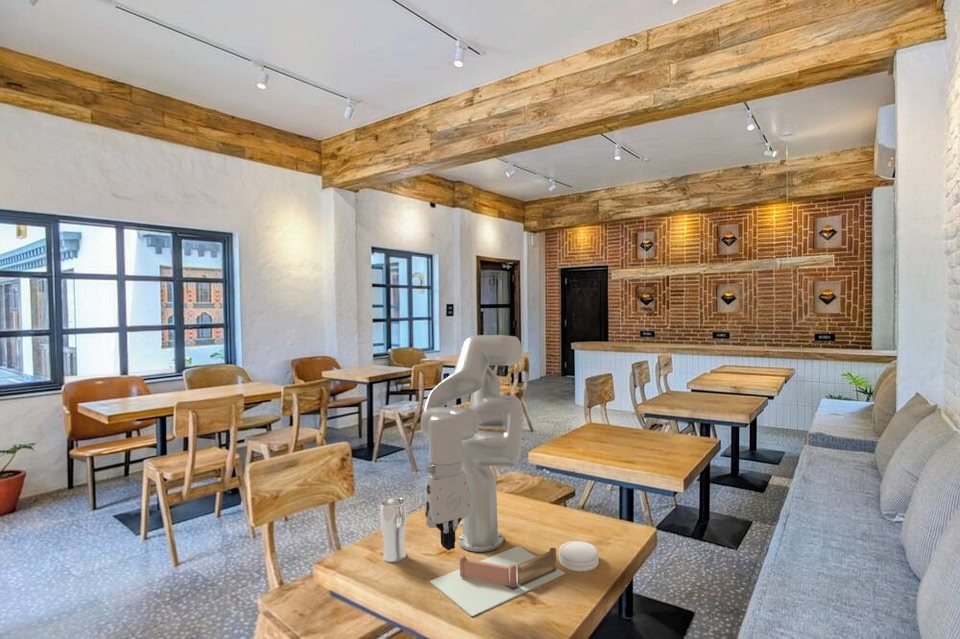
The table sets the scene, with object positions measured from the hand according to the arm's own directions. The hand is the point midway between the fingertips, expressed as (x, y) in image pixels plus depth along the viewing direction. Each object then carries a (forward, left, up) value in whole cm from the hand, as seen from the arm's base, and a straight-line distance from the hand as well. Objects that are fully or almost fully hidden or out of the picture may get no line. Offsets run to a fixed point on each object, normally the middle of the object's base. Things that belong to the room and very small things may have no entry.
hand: (448, 547), depth 120 cm
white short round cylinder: (+8, +35, -12) cm, 37 cm away
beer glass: (-25, -1, -12) cm, 28 cm away
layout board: (+1, +14, -12) cm, 18 cm away
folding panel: (+1, +10, -11) cm, 15 cm away
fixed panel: (+7, +21, -12) cm, 25 cm away
